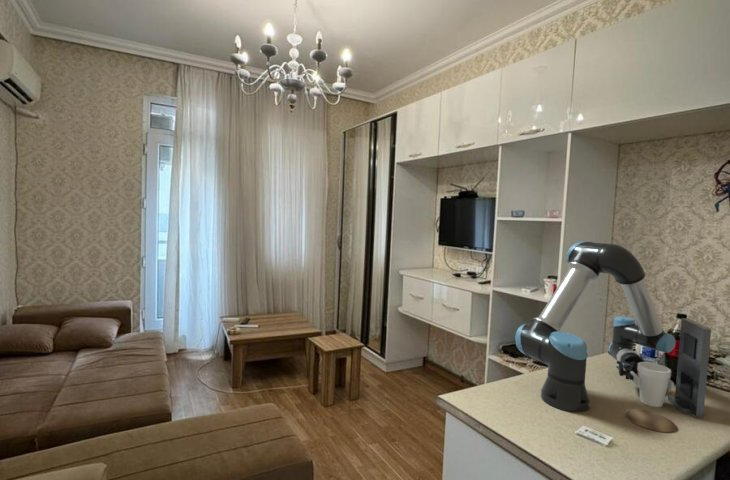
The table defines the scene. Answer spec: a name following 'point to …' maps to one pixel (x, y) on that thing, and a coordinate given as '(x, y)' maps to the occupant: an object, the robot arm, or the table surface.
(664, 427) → the coaster
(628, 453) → the table surface
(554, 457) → the table surface
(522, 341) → the robot arm
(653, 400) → the foam cup
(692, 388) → the post
